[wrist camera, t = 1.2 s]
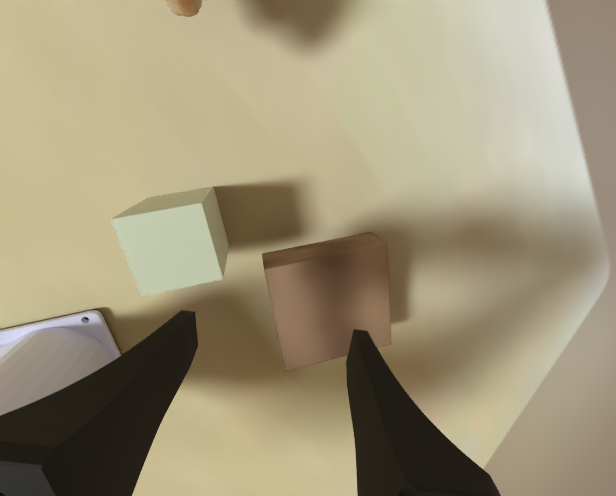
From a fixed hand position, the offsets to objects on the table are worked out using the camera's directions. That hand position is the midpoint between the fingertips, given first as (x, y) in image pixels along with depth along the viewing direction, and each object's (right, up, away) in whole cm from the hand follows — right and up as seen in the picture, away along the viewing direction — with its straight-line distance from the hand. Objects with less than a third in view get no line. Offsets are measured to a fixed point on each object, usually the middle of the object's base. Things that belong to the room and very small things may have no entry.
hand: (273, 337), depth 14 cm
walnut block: (+3, 0, +12) cm, 13 cm away
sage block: (-7, +6, +8) cm, 12 cm away
